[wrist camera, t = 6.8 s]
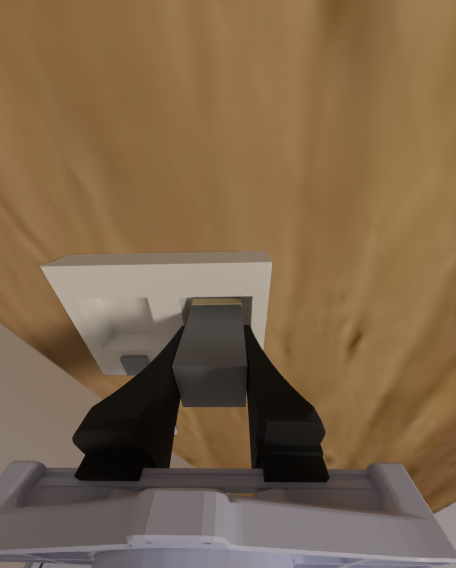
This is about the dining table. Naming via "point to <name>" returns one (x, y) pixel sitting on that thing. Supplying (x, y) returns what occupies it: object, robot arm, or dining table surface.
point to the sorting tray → (152, 298)
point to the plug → (212, 355)
